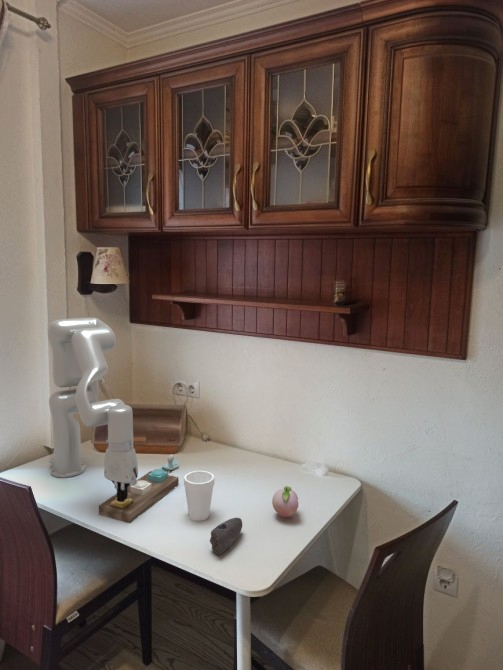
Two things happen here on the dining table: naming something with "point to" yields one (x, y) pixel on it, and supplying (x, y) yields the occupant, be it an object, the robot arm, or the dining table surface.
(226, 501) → the dining table surface
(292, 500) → the decorative fruit
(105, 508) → the button panel
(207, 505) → the foam cup
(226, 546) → the perforated stone tool
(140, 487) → the cream button
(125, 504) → the brass button
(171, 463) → the pacifier
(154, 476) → the teal button
